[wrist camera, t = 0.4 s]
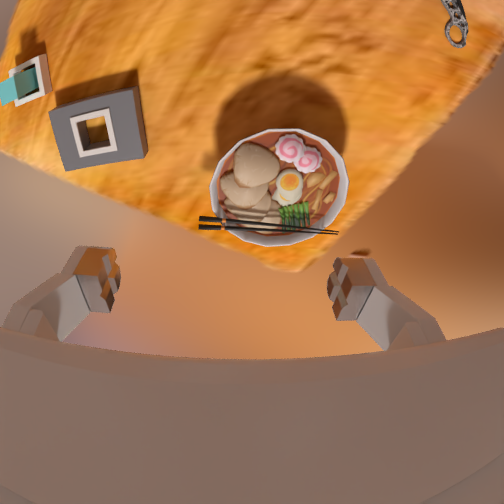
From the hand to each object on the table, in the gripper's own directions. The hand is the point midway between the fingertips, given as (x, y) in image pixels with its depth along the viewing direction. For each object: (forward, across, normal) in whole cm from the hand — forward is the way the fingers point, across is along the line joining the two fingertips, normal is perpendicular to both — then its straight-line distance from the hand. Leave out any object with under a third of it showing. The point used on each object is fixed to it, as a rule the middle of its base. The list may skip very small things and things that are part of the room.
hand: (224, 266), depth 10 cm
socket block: (+39, +22, +4) cm, 45 cm away
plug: (+37, +36, -8) cm, 52 cm away
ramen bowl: (+40, -9, +12) cm, 43 cm away
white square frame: (+37, +36, -8) cm, 52 cm away
